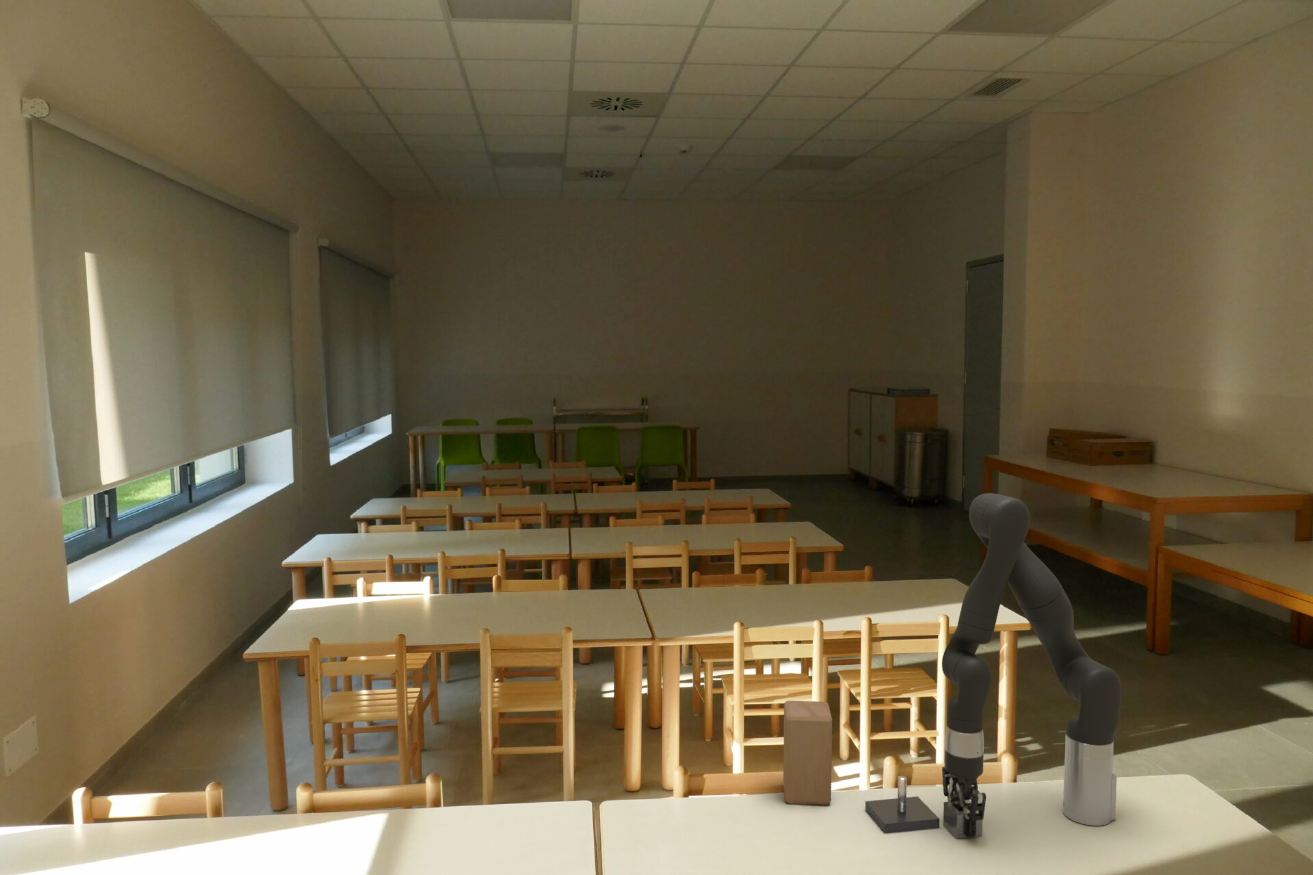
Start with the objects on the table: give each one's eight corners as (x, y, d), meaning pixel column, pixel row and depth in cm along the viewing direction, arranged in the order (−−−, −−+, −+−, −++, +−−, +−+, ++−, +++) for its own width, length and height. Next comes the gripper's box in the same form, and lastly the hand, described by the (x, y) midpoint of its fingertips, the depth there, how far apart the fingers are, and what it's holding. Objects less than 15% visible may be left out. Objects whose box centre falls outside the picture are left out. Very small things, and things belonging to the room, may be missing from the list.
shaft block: (917, 805, 203) (918, 765, 202) (939, 827, 193) (940, 785, 192) (865, 810, 201) (865, 769, 200) (884, 833, 191) (885, 790, 190)
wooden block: (827, 785, 212) (828, 700, 211) (831, 806, 202) (832, 717, 201) (783, 784, 213) (783, 698, 212) (784, 804, 203) (785, 715, 202)
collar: (968, 822, 195) (968, 799, 195) (982, 835, 190) (982, 812, 189) (943, 825, 194) (943, 801, 194) (956, 838, 189) (957, 814, 188)
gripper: (1000, 761, 184) (997, 844, 185) (963, 733, 198) (961, 810, 199) (964, 764, 183) (962, 847, 184) (930, 735, 197) (928, 813, 198)
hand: (962, 827), depth 192 cm, fingers closed on collar, 5 cm apart
